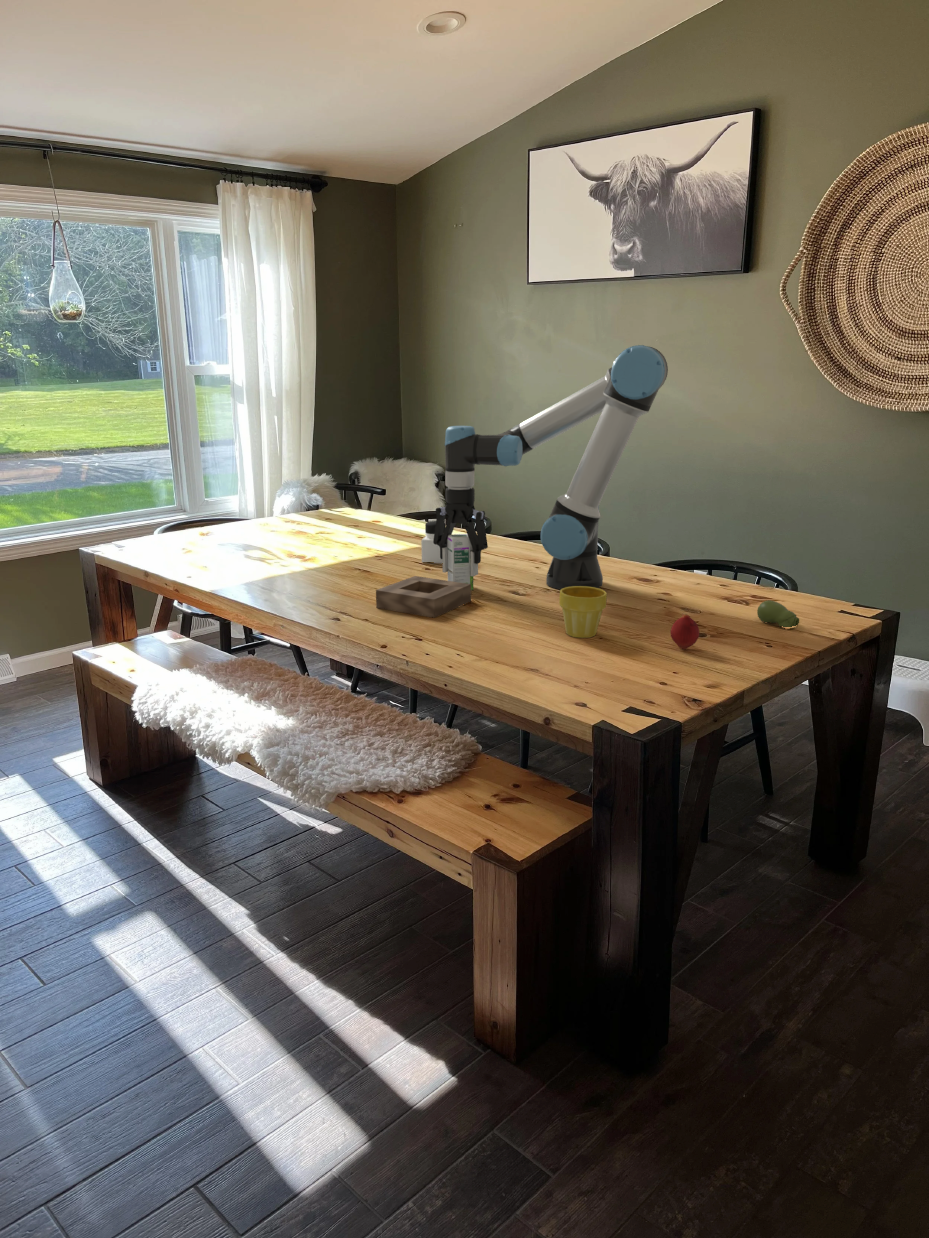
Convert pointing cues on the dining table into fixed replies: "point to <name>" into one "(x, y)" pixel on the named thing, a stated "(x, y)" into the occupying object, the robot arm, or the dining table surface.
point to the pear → (776, 614)
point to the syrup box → (459, 558)
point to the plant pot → (582, 609)
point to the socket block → (423, 596)
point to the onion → (684, 631)
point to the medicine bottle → (430, 544)
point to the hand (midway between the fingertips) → (460, 573)
